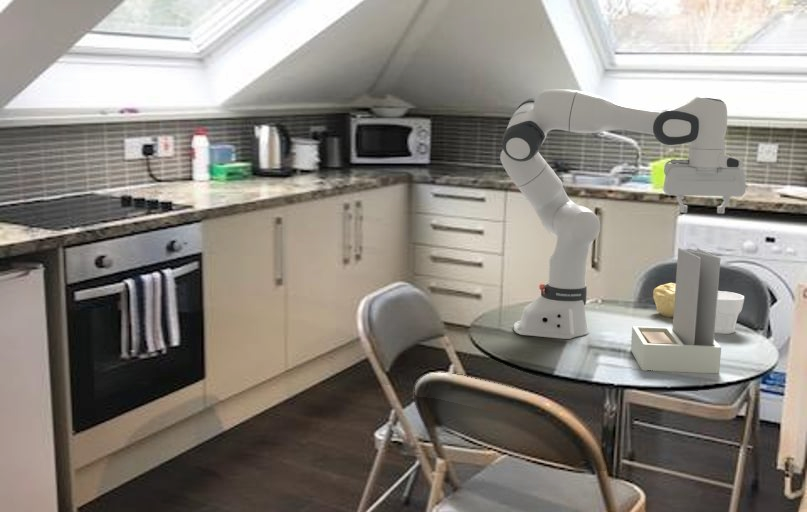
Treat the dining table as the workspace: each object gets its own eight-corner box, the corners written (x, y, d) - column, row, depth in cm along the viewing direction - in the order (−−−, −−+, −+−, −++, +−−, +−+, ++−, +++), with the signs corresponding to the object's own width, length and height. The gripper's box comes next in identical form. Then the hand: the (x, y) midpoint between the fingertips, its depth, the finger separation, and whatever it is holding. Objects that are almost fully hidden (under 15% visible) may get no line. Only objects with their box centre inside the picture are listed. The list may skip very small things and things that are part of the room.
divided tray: (642, 370, 226) (643, 344, 225) (630, 350, 244) (632, 326, 243) (719, 373, 224) (721, 347, 223) (702, 352, 242) (704, 328, 241)
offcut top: (649, 355, 229) (650, 342, 228) (640, 343, 240) (641, 331, 239) (672, 356, 229) (673, 343, 228) (662, 344, 239) (663, 332, 239)
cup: (703, 322, 275) (706, 288, 273) (744, 328, 269) (747, 293, 267) (694, 331, 264) (697, 296, 262) (737, 337, 258) (740, 301, 256)
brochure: (711, 370, 227) (720, 257, 222) (691, 370, 227) (699, 257, 221) (689, 354, 241) (698, 248, 236) (670, 354, 241) (678, 248, 235)
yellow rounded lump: (646, 312, 288) (648, 280, 286) (678, 310, 291) (680, 278, 289) (665, 320, 277) (667, 287, 275) (698, 318, 280) (700, 286, 278)
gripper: (667, 159, 222) (663, 213, 224) (749, 161, 220) (745, 215, 223) (662, 158, 228) (659, 210, 231) (742, 159, 226) (738, 212, 229)
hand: (702, 212), depth 227 cm, fingers open, 8 cm apart
